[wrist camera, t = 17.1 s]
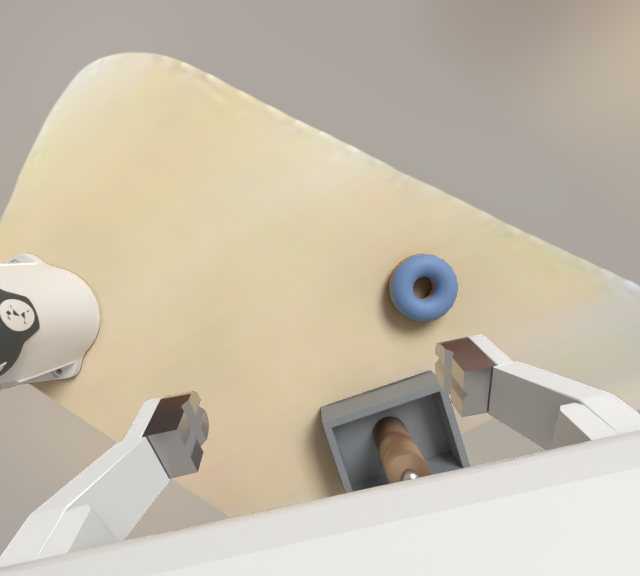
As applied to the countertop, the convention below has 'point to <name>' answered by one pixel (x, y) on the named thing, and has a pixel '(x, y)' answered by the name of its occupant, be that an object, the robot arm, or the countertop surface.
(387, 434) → the pepper mill
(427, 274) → the doughnut
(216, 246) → the countertop surface
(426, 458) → the bin
